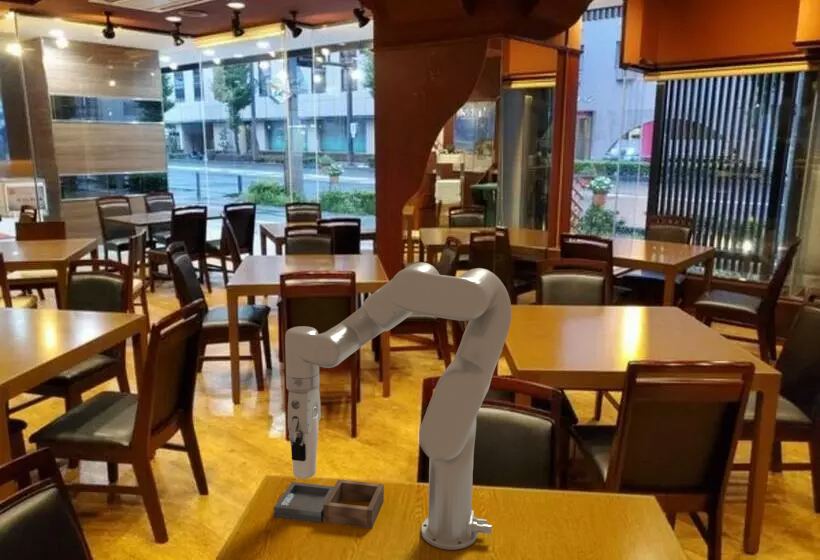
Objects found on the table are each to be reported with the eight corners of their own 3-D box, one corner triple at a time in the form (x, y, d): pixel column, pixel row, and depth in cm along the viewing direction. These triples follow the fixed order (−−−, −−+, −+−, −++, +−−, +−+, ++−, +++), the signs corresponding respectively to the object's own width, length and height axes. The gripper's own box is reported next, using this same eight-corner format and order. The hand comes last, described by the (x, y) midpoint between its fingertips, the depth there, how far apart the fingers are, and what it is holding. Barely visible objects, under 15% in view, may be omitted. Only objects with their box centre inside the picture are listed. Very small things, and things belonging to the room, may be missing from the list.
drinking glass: (284, 477, 144) (282, 416, 141) (302, 464, 150) (300, 406, 147) (307, 484, 141) (306, 423, 138) (324, 471, 147) (324, 412, 144)
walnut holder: (383, 501, 149) (383, 484, 149) (372, 528, 138) (372, 510, 138) (338, 496, 152) (338, 479, 151) (323, 522, 141) (323, 504, 140)
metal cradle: (336, 495, 152) (336, 486, 151) (320, 523, 140) (320, 513, 140) (292, 490, 154) (292, 481, 154) (273, 517, 142) (273, 507, 142)
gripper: (305, 396, 132) (306, 472, 136) (330, 369, 149) (331, 438, 152) (272, 393, 133) (274, 469, 137) (300, 367, 150) (302, 435, 154)
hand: (304, 452), depth 145 cm, fingers closed on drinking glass, 6 cm apart
